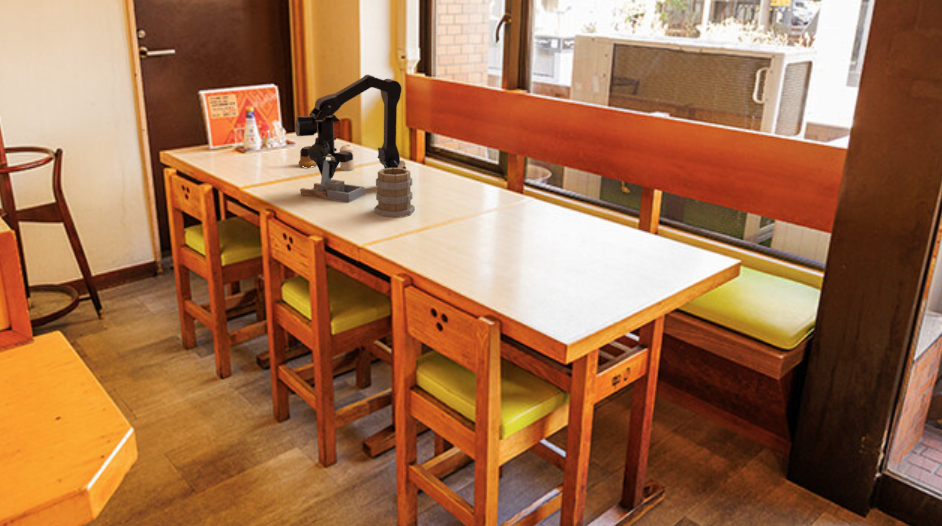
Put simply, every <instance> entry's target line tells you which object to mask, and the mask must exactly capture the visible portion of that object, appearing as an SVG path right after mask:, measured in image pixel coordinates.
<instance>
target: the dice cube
mask: <svg viewBox="0 0 942 526" xmlns="http://www.w3.org/2000/svg"><path fill="white" fill-rule="evenodd" d="M344 184H345V180H338V179H331V180H330V181H328V182H325V192H327V191H328V190H332V191H339V192H345V185H344Z"/></svg>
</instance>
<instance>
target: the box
mask: <svg viewBox="0 0 942 526" xmlns="http://www.w3.org/2000/svg"><path fill="white" fill-rule="evenodd" d="M344 185H345V192H339V191H332V190H328V191H327V198H326V199H327V200H332V201H339V202H346V203H351V202H353V201H355V200H357V199H360V198H361V197H363V196H365V193H366V192H365V186H361V185H354V184H347V183H344Z"/></svg>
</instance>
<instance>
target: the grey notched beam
mask: <svg viewBox="0 0 942 526" xmlns="http://www.w3.org/2000/svg"><path fill="white" fill-rule="evenodd" d="M329 160H330V159H326V160H325V161H324V164H323V171H322V176H321V181H320V183H321V185H320V186H318V189H317V190H318V191H325V182H328V181H330V180H332V178H331V179H330V175H329V164H328V162H327V161H329Z"/></svg>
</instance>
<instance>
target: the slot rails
mask: <svg viewBox="0 0 942 526" xmlns="http://www.w3.org/2000/svg"><path fill="white" fill-rule="evenodd" d="M320 185H321V182H314V183H313V189H311V188H305V187H302V188H300V195H301V194H303V195H302V196H307V195H310V196H309V197H313V196H316V197H315V198H320V197H321V199H327V192H325V191H318V186H320Z"/></svg>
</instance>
